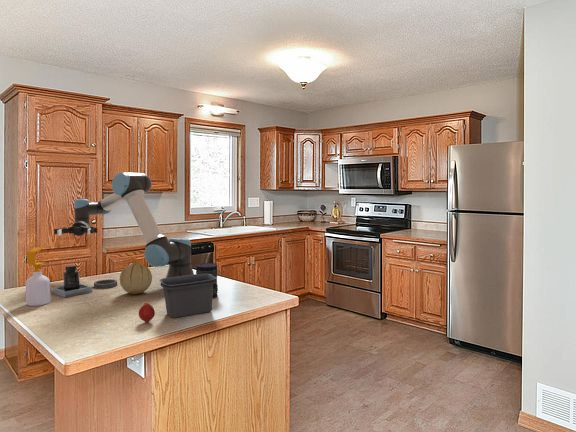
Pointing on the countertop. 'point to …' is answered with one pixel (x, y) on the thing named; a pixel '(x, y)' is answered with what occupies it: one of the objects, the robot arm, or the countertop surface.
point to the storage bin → (188, 294)
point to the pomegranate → (146, 312)
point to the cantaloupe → (135, 278)
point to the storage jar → (209, 269)
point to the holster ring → (105, 283)
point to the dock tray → (63, 293)
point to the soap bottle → (37, 283)
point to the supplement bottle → (71, 278)
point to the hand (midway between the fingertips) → (73, 232)
